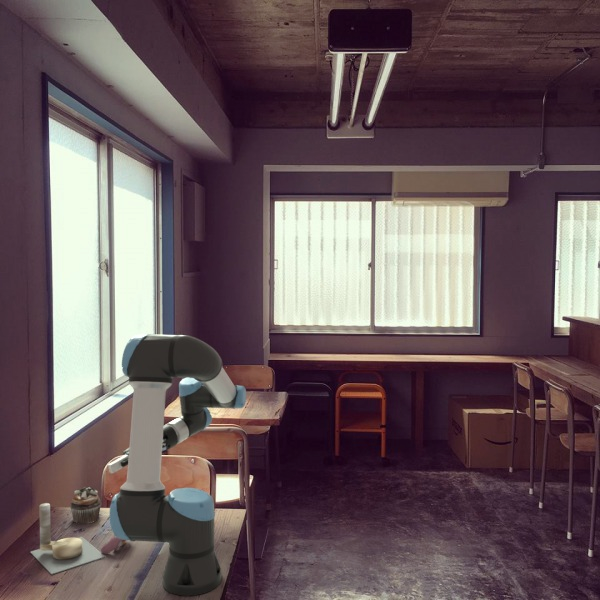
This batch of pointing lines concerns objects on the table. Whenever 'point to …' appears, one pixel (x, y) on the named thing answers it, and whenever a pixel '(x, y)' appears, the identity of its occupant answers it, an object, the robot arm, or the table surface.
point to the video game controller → (112, 545)
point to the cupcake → (85, 505)
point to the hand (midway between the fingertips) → (110, 468)
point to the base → (59, 565)
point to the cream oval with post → (62, 547)
